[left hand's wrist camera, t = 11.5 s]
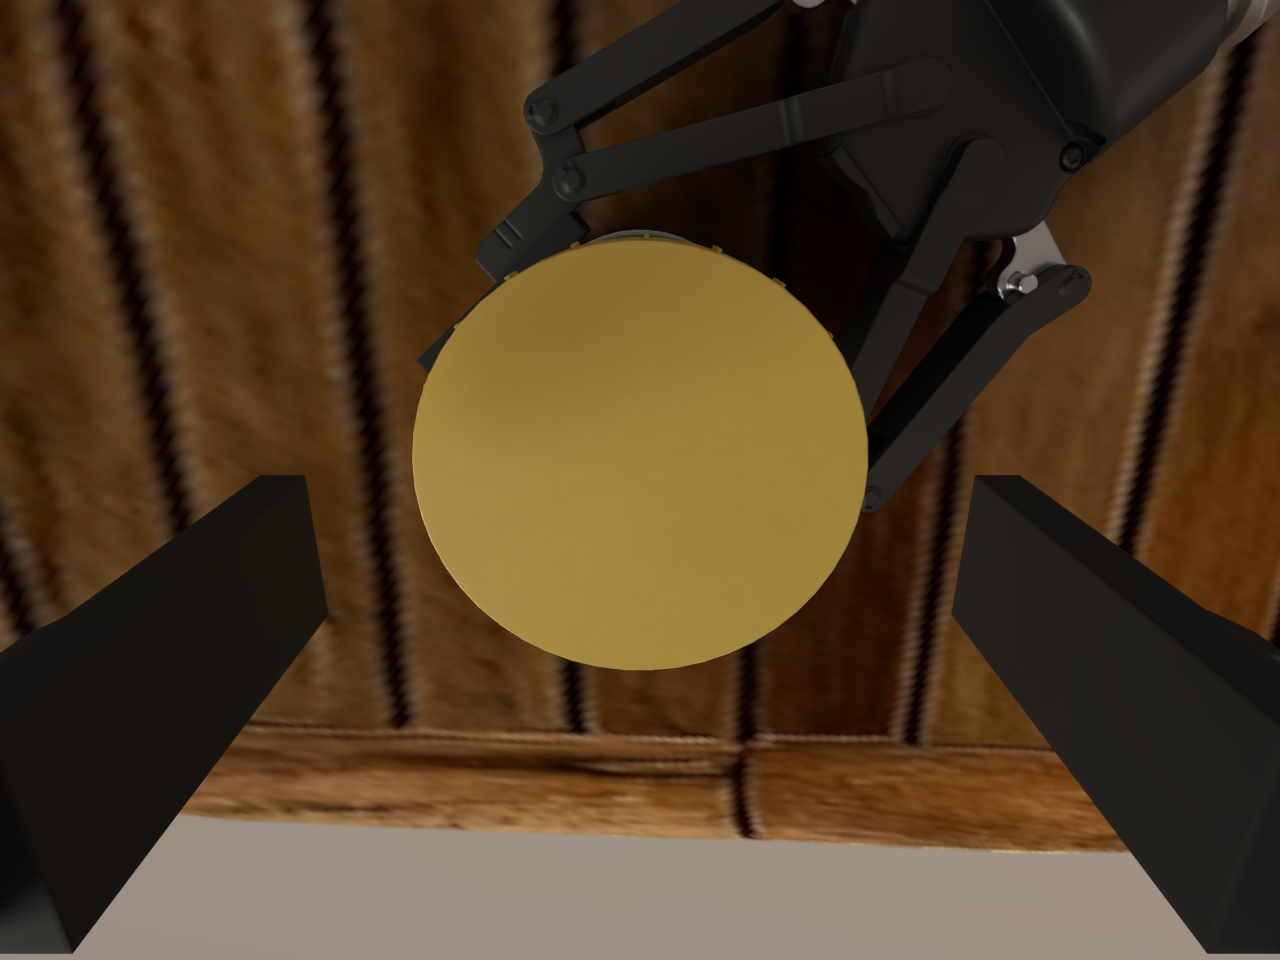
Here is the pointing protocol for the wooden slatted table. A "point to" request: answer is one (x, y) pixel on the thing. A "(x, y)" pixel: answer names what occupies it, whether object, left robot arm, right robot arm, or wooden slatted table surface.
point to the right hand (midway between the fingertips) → (544, 468)
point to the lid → (640, 454)
